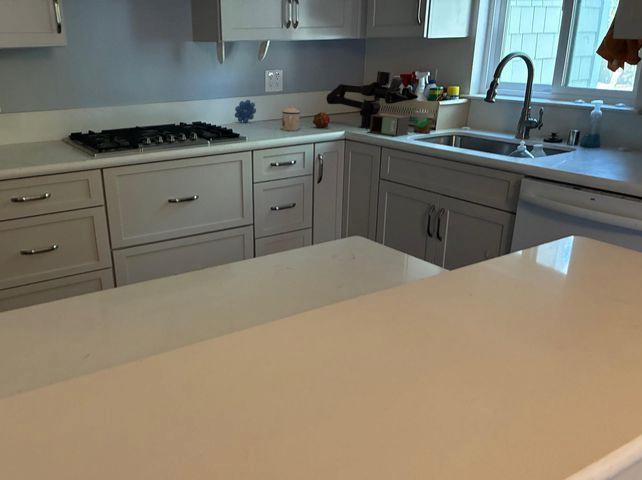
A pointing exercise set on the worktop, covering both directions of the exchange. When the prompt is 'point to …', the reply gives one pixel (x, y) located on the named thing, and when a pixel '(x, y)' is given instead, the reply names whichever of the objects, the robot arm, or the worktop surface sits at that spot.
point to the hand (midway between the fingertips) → (412, 97)
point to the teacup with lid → (290, 119)
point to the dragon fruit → (321, 120)
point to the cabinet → (378, 118)
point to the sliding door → (389, 125)
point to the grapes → (245, 111)
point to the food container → (423, 122)
